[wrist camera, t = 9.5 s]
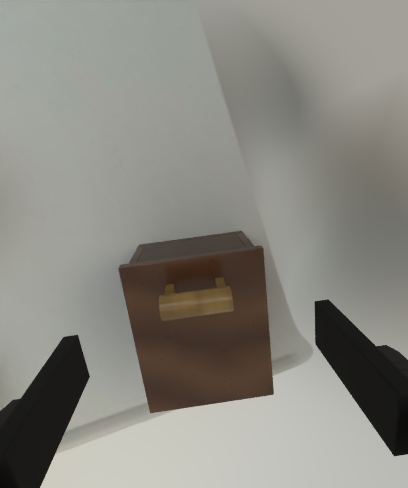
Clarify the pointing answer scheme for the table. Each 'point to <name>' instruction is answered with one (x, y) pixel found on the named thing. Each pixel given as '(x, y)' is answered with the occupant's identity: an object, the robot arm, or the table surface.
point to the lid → (200, 327)
